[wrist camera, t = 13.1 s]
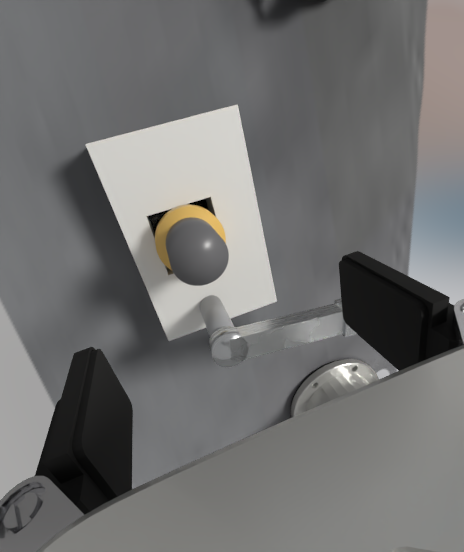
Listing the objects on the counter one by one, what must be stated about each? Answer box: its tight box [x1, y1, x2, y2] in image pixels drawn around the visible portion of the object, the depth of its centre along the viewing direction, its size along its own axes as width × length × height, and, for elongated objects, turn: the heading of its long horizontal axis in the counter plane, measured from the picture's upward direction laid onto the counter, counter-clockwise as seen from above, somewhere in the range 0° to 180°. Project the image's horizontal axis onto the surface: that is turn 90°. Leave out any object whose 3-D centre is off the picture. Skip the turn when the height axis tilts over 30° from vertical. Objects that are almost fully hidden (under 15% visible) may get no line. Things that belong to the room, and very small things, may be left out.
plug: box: [155, 204, 229, 286], centre depth 23 cm, size 5×5×8 cm
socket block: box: [86, 105, 277, 341], centre depth 23 cm, size 10×16×8 cm, turn 14°
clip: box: [209, 299, 357, 367], centre depth 22 cm, size 3×12×2 cm, turn 95°
